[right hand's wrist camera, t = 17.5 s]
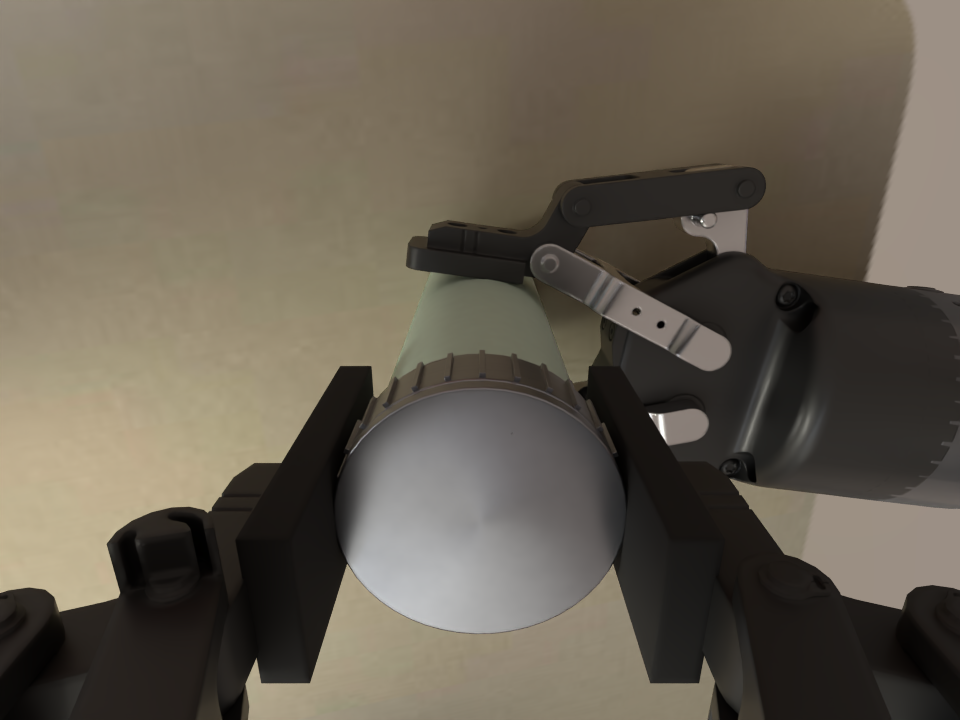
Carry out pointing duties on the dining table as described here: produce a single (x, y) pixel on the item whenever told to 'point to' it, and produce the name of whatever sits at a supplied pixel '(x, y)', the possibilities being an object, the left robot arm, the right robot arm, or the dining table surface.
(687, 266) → the left robot arm
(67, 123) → the dining table surface
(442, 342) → the bottle
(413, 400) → the lid
